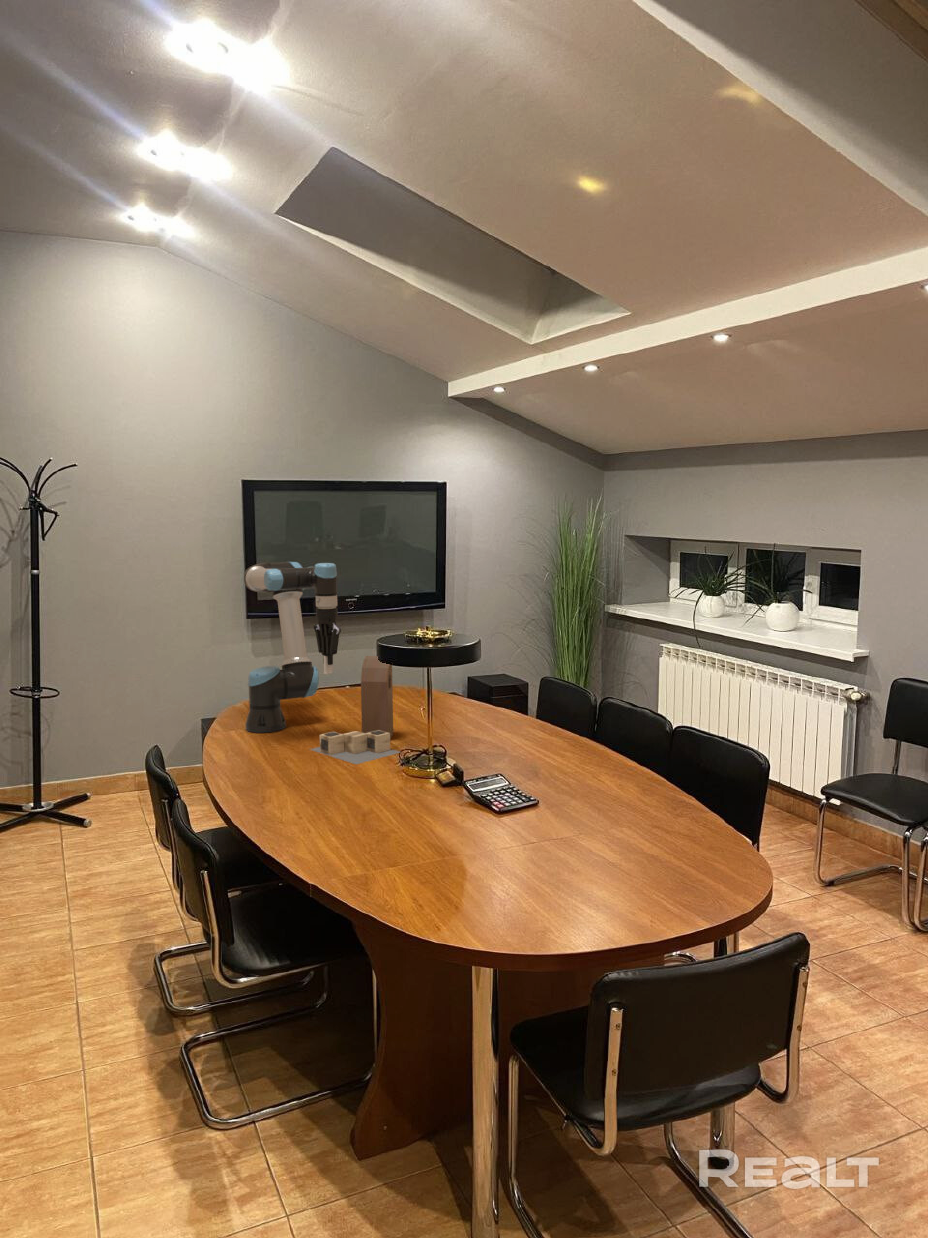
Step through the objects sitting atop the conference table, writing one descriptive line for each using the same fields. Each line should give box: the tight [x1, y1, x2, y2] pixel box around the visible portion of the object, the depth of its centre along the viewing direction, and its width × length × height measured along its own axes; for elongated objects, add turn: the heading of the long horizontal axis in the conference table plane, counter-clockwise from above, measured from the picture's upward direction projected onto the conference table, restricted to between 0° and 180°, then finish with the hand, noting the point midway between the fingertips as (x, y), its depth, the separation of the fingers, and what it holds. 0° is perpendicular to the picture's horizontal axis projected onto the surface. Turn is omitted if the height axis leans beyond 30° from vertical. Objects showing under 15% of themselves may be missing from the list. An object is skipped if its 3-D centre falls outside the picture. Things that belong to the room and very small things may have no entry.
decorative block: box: [360, 655, 394, 739], centre depth 339 cm, size 10×10×30 cm
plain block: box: [342, 730, 367, 754], centre depth 323 cm, size 6×6×6 cm
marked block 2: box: [366, 730, 391, 753], centre depth 324 cm, size 6×6×6 cm
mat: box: [309, 746, 402, 765], centre depth 324 cm, size 26×20×1 cm
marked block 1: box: [319, 731, 344, 755], centre depth 322 cm, size 6×6×6 cm
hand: (328, 673), depth 329 cm, fingers closed
